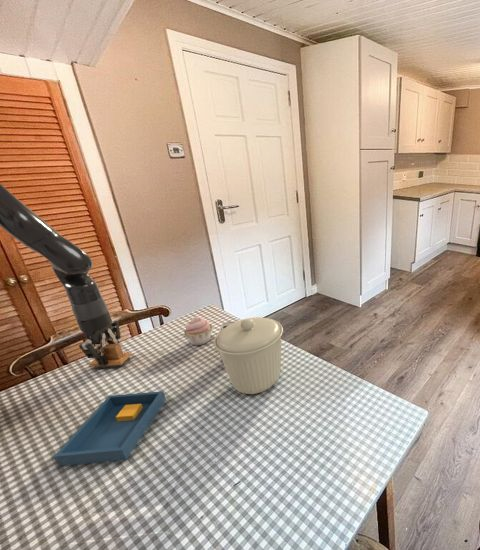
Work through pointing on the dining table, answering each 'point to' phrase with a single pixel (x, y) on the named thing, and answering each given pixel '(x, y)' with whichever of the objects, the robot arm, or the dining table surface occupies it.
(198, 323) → the cupcake
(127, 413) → the yellow square block
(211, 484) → the dining table surface
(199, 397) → the dining table surface
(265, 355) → the canister
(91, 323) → the robot arm
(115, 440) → the tray
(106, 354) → the brown wooden stepped block
